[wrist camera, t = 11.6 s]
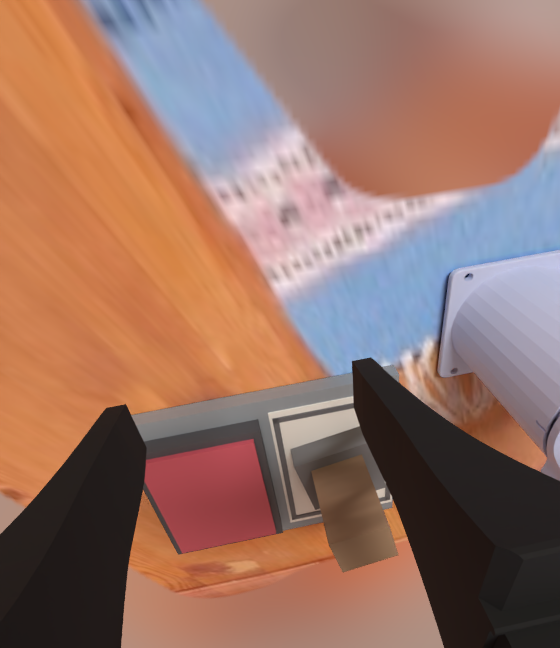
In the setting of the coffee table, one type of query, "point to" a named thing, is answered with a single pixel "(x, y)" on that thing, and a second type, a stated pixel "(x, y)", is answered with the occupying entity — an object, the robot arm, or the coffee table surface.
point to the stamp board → (241, 460)
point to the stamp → (346, 497)
